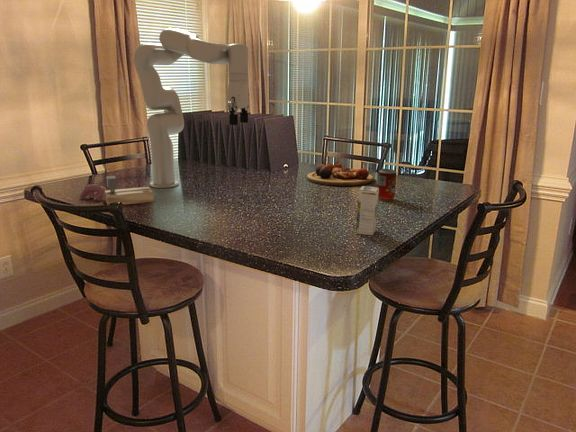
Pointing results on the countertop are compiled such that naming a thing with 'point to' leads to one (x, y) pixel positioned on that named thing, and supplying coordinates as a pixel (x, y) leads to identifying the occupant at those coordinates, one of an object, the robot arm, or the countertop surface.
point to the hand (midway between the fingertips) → (239, 123)
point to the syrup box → (367, 210)
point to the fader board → (130, 195)
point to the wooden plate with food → (339, 175)
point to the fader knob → (111, 183)
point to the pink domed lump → (90, 191)
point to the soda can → (386, 184)
